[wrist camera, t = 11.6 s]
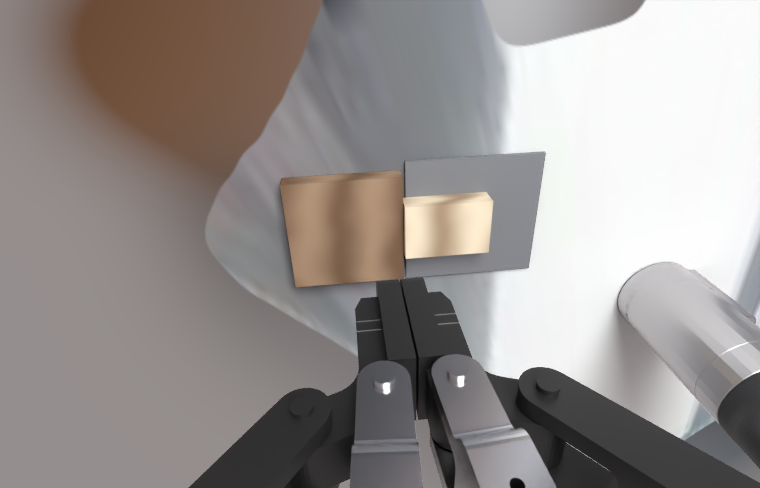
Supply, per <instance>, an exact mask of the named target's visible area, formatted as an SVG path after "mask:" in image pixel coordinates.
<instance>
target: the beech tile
mask: <svg viewBox="0 0 760 488" xmlns="http://www.w3.org/2000/svg"><path fill="white" fill-rule="evenodd" d="M492 211H493V200H492V199H491V198H490V196H489V195H488V194H487V192H476V193H462V194H448V195H434V196H420V197H407V198H403V246H404V254H405V258H406V259H412V258H424V257H437V256H450V255H462V254H475V253H487V252H489V244H490V233H491V222H492Z"/></svg>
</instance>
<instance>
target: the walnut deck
mask: <svg viewBox="0 0 760 488" xmlns="http://www.w3.org/2000/svg"><path fill="white" fill-rule="evenodd" d="M280 190H281V196H282V203H283V209H284V215H285V222H286V228H287V234H288V241H289V247H290V253H291V260H292V266H293V273H294V279H295V285H296V287H305V286H318V285H330V284H343V283H355V282H368V281H380V280H393V279H404V246H403V177H402V174H401V172H400V170H398V171H383V172H367V173H352V174H337V175H322V176H307V177H292V178H282V180H281V183H280Z"/></svg>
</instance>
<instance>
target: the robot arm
mask: <svg viewBox="0 0 760 488" xmlns="http://www.w3.org/2000/svg"><path fill="white" fill-rule="evenodd" d="M376 292H377V297H371V298H361V300H360V301H359V303H358V305H357V307H356V309H355V313H356V329H357V344H358V360H359V372H358V375H357V377H356V379H355V380H354V382H353V383H352V384H351V385H350V386H348V387H347V388H346V389H344V390H342V391H340V392H338V393H335V394H332V395H330V396H326V395H325V394H324V393H323V392H321V391H319V390H317V389H313V388H302V389H297V390H294V391H292V392H290V393H288V394H286V395H285V396H284V397H282V398H281V399H280V400H279V401H278V402H277V403H276V404H275V405H274V406H273V407H272V408H271V409H270V410H269V411H268V412H267V413H266V414H265V415H264V416H262V418H260V420H258V421H257V422H256V423H255V424H254V425H253V426H252V427H251V428H250V429H249V430H248V431H247V432H246V433H245V434H244V435H243V436H242V437H241V438H240V439H239V440H238V441H237V442H236V443H234V444H233V445H232V446H231V447H230V448H229V449H228V450H227V451H226V452H225V453H224V454H223V455H222V456H221V457H220V458H219V459H218V460H217V461H216V462H215V463H214V464H213V465H212V466H211V467H210V468H209V469H208V470H207V471H206V472H204V473H203V474H202V475H201V476H200V477H199V478H198V479H197V480H196V481H195V482H194V483H193V484H192V485H191V486H190V487H189V488H338V487H339V484H340V483H341V482H343V481H346V480H348V479H350V488H423V482H422V471H421V462H420V451H419V444H418V442H417V439H416V429H415V420H416V410H417V415H418V419H419V420H421V419H428V423H429V427H430V447H431V450H432V453H433V457H434V460H435V464H436V467H437V470H438V473H439V477H440V480H441V484H442V487H443V488H760V483H759V482H757V481H755V480H753V479H752V478H750V477H748V476H746V475H744V474H743V473H741V472H739V471H737V470H735V469H734V468H732V467H730V466H728V465H726V464H725V463H723V462H721V461H719V460H717V459H716V458H714V457H712V456H710V455H708V454H707V453H705V452H703V451H701V450H699V449H698V448H696V447H694V446H692V445H690V444H688V443H687V442H685V441H683V440H681V439H680V438H678V437H676V436H674V435H672V434H671V433H669V432H667V431H665V430H663V429H662V428H660V427H658V426H656V425H654V424H653V423H651V422H649V421H647V420H645V419H644V418H642V417H640V416H638V415H636V414H635V413H633V412H631V411H629V410H627V409H626V408H624V407H622V406H620V405H618V404H617V403H615V402H613V401H611V400H609V399H608V398H606V397H604V396H602V395H600V394H599V393H597V392H595V391H593V390H591V389H590V388H588V387H586V386H584V385H582V384H581V383H579V382H577V381H575V380H573V379H572V378H570V377H568V376H566V375H564V374H563V373H561V372H559V371H556V370H554V369H550V368H544V367H536V368H531V369H528V370H526V371H525V372H523V373H522V375H521V376H520V378H519V380H518V379H512V378H506V377H500V376H496V375H493V374H490V373H488V372H486V371H485V370H484V369H483V367H482V365H481V364H480V363H479V362H477V361H476V360H475V359H473V358H472V356H471V353H470V351H469V348H468V345H467V343H466V340H465V337H464V335H463V332H462V329H461V327H460V324H459V322H458V319H457V316H456V314H455V311H454V308H453V305H452V303H451V301H450V300H449V299H448V298H447V297H446V296H445V295H444V294H443V293H442V292H430V293H428V292H427V288H426V285H425V282H424V279H423V277H422V278H410V279H400V282H399V279H398V280H386V281H376ZM618 308H619V310H620V312H621V314H622V315H623V316H624V317H625V318H626V319H627V321H628V322H629V323H630V324H631V325H632V326H633V327H634V329H635V330H636V331H637V332H638V333H639V334H640V336H641V337H642V338H643V339H644V340H645V341H646V342H647V344H648V345H649V346H650V347H651V348H652V349H653V350H654V351H655V353H656V354H657V355H658V356H659V357H660V358H661V359H662V360H663V362H664V363H665V364H666V365H667V366H668V367H669V368H670V370H671V371H672V372H673V373H674V374H675V375H676V376H677V377H678V379H679V380H680V381H681V382H682V383H683V384H684V385H685V386H686V388H687V389H688V390H689V391H690V392H691V393H692V394H693V395H694V397H695V398H696V399H697V400H698V401H699V402H700V403H701V404H702V405H703V407H704V408H705V409H706V410H707V411H708V412H709V413H710V415H711V416H712V417H713V418H714V419H715V420H716V421H717V422H718V424H719V425H720V426H721V427H722V428H723V429H724V430H725V431H726V432H727V433H728V434H729V436H730V437H731V438H732V439H733V440H734V441H735V442H736V443H737V444H738V445H739V446H740V448H742V450H743V451H744V452H745V453H746V454H747V455H748V456H749V457H750V458H751V459H752V461H753V462H754V463H755V464H756V465H757V466H758V467H759V468H760V328H759V327H758V326H757V325H756V324H755V323H756V318H755V317H754V316H753V315H752V314H751V313H749V312H748V311H747V310H746V309H744V308H743V307H742V306H740V305H739V304H738V303H737V302H735V301H734V300H733V299H731V298H730V297H729V296H728V295H726V294H725V293H724V292H722V291H721V290H720V289H719V288H717V287H716V286H715V285H713V284H712V283H711V282H710V281H708V280H707V279H706V278H704V277H703V276H702V275H701V274H699V273H698V272H697V271H695V270H687V269H685V268H684V267H682V266H681V265H679V264H676V263H670V262H665V263H658V264H654V265H651V266H648V267H646V268H644V269H642V270H640V271H639V272H637V273H636V274H635V275H633V276H632V277H631V278H630V279H629V280H628V281H627V282H626V284H625V285H624V287H623V288H622V290H621V292H620V295H619V298H618ZM566 442H567V443H569V444H570V445H572V446H573V447H575V448H576V449H578V450H579V451H578V450H576V449H575V448H573V447H572V446H570V445H569V444H567V443H566ZM580 451H581V452H582V453H581V452H580ZM583 453H584V454H585V455H584V454H583ZM586 455H587V456H588V457H587V456H586ZM589 457H590V458H591V459H590V458H589ZM592 459H593V460H595V461H596V462H598V463H599V464H601V465H602V466H604V467H605V468H607V469H608V470H609V471H608V470H607V469H605V468H604V467H602V466H601V465H599V464H598V463H596V462H595V461H593V460H592Z"/></svg>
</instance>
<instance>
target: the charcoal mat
mask: <svg viewBox="0 0 760 488" xmlns="http://www.w3.org/2000/svg"><path fill="white" fill-rule="evenodd" d="M545 154H546V153H545V152H530V153H515V154H499V155H484V156H469V157H453V158H438V159H422V160H407V161H405V198H407V197H420V196H434V195H448V194H462V193H476V192H487V194H488V195H489V196H490V198H491V199H492V200H493V211H492V222H491V233H490V244H489V252H487V253H475V254H462V255H450V256H437V257H424V258H412V259H406V278H410V277H422V276H435V275H447V274H460V273H472V272H485V271H497V270H510V269H522V268H529V262H530V255H531V249H532V242H533V235H534V228H535V222H536V215H537V208H538V201H539V195H540V188H541V181H542V175H543V168H544V161H545Z"/></svg>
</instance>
